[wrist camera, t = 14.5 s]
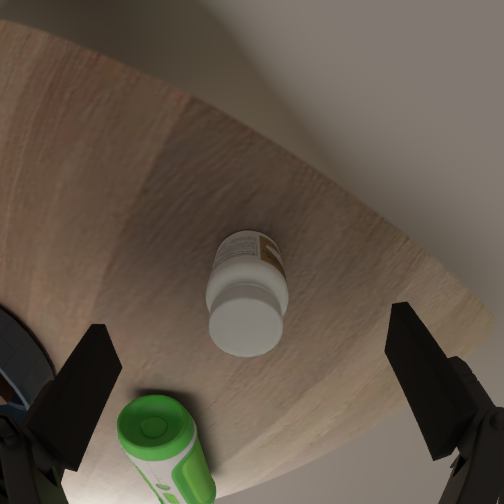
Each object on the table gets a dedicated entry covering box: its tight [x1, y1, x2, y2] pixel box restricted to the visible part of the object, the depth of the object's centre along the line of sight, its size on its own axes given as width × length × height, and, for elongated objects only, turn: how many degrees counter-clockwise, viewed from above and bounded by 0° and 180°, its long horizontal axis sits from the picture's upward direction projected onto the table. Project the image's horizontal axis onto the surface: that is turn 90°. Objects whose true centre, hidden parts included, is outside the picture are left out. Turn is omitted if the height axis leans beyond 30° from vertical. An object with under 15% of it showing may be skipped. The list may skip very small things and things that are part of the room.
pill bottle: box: [206, 231, 289, 357], centre depth 18 cm, size 4×4×8 cm
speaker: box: [117, 395, 216, 504], centre depth 26 cm, size 18×7×8 cm, turn 2°
